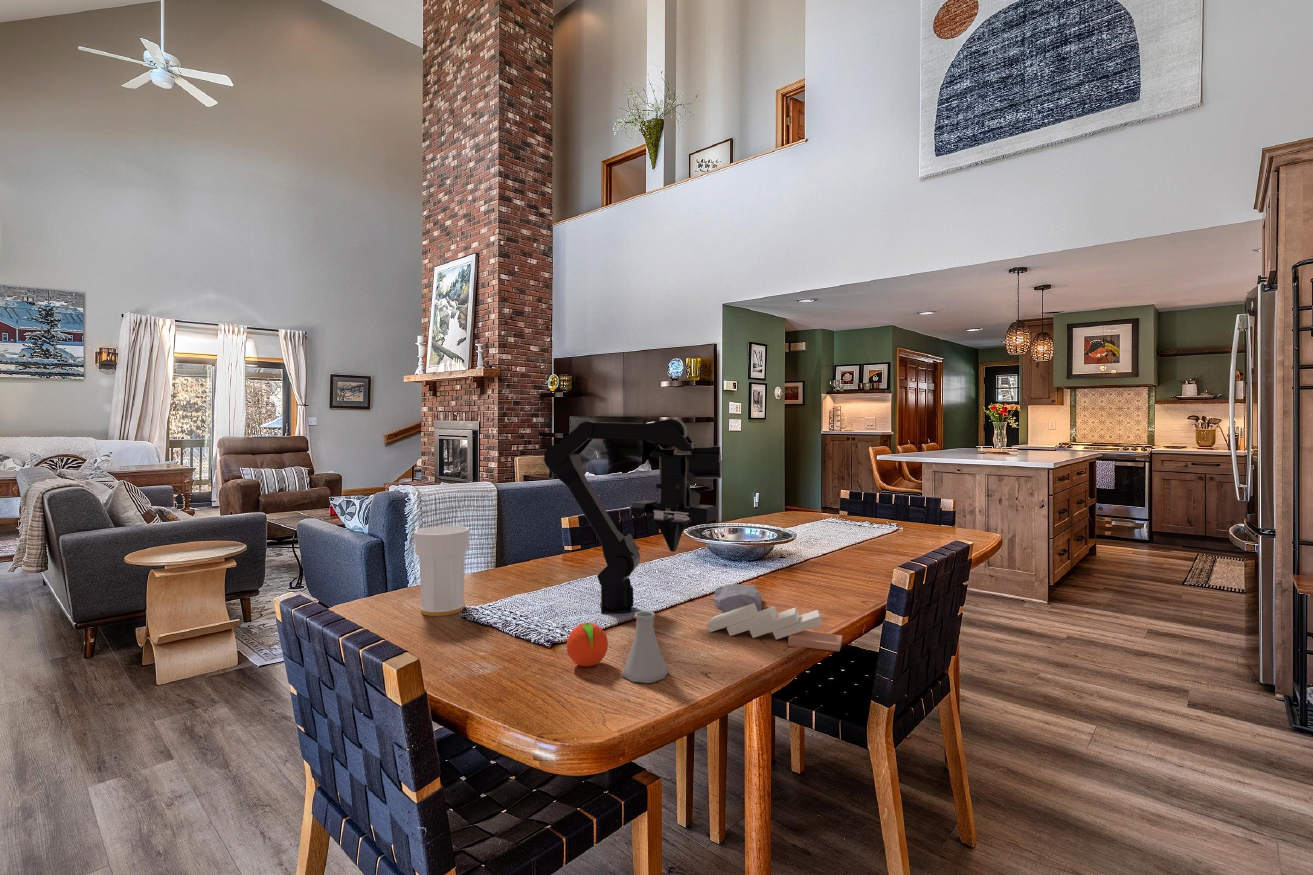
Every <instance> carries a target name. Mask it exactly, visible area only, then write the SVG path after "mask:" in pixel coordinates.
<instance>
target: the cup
mask: <svg viewBox="0 0 1313 875" xmlns="http://www.w3.org/2000/svg"><path fill="white" fill-rule="evenodd" d="M413 539H414V552H415V554H416V555H417V556H418V558H419V576H420V579H419V580H420V597H421V599H420V600H421V607H420V613H421V615H424V616H427V617H445V616H446V617H447V616H451V615H455V614H458V613H460V611H461V609H463V608H464V607H465V608H466V603H465V569H466V568H465V564H466V562H465V561H466V560H465V559H466V558H465V556H466V553H467V551H468V550H469V548H470V528H469V527H467V526H462V525H438V526H435V525H434V526H427V527H422V528H419V529H416V530H415V531H414V532H413ZM461 612H462V611H461Z"/></svg>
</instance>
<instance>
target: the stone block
mask: <svg viewBox="0 0 1313 875" xmlns="http://www.w3.org/2000/svg"><path fill="white" fill-rule="evenodd" d="M713 600H714V602H715V607H716V608H717V609H718V610H719V611H721V612H723V613H726V612H729V611H732V610H735V609H738V608H741V607H744V606H747V605H750V604H753V603H755V606H756V608H757V612H758V611H761V610H762V595H761V592H760V591H759V590H757V589H756V586H755V584H748V585H747V584H739V583H737V584H736V583H735V584H734V583H733V584H726V585H724V586H723V585H722V586H718V587H716V588H715V590H714V595H713Z"/></svg>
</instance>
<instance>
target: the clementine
mask: <svg viewBox="0 0 1313 875" xmlns="http://www.w3.org/2000/svg"><path fill="white" fill-rule="evenodd" d="M608 648H609V642H608V637H607V633H606V632H605V631H604V630H603V629H602V628H601V627H600V626H599V625H597V624H595V623H590V622H585V623H581V624H578V626H575V627H574V628H573V629H572V630H571V632H570V633H569V634H568V637H567V640H566V651H567V654H568V657H569V658H570V659H571V661H572V662H573V663H575V665H578V666H580V667H592V666H596V665H597V664H599V663H600V662H602V660H603V659H604V657H606V654H607V652H608Z"/></svg>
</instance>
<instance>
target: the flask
mask: <svg viewBox="0 0 1313 875" xmlns="http://www.w3.org/2000/svg"><path fill="white" fill-rule="evenodd" d="M655 616H656V613H655V612H653V611H650V610H649V611H648V610H641V611H638V612H637V611H636V613H634V619H636V622H635V623H636V625H635V626H636V628H635V633H634V639H633V642H632V645H631V648H630V650H629V653H628V657H627V660H626V662H625V665H624V668H623V670H622V674H621V676H622V677H623V678H625V679H626V680H627V679H628V681H631V682H633V683H634V682H635V683H643V684H652V683H655V682H658V681H660V680H665V678H666V676H667V674H668V672H669V670H668V667H667V664H666V662H665V659H664V657H663V654H662V651H661V648H660V646H659V643H658V640H657V637H656V633H655V632H656V631H655V628H654V627H655V626H654V618H655Z"/></svg>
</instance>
